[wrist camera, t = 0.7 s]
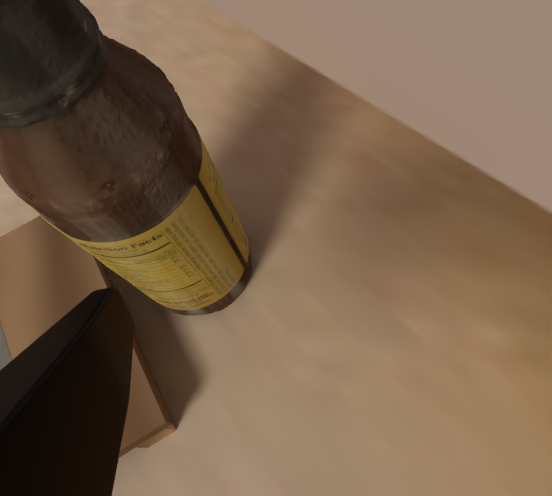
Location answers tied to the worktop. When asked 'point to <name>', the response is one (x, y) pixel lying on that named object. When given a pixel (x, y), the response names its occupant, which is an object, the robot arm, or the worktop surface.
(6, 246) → the wooden pallet
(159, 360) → the worktop surface
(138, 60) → the sauce bottle
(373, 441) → the worktop surface
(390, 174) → the worktop surface
